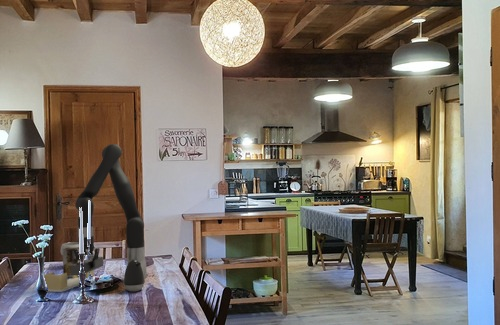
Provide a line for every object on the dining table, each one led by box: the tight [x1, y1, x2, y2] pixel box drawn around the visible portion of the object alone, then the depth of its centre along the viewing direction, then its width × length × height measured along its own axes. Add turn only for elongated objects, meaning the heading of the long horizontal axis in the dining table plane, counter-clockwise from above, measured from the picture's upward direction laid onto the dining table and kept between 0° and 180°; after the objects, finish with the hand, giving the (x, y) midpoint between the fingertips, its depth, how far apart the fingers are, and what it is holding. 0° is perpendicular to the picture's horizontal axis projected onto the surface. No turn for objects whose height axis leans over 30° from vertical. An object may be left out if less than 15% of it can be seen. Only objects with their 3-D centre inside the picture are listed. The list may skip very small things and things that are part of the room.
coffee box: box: [62, 247, 80, 278], centre depth 275 cm, size 9×6×16 cm
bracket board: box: [43, 270, 94, 293], centre depth 255 cm, size 12×30×8 cm, turn 165°
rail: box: [71, 256, 104, 275], centre depth 252 cm, size 5×22×5 cm, turn 167°
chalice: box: [60, 241, 79, 256], centre depth 301 cm, size 14×14×15 cm
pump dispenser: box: [123, 260, 146, 293], centre depth 238 cm, size 10×10×15 cm
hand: (87, 268), depth 252 cm, fingers closed on rail, 5 cm apart
